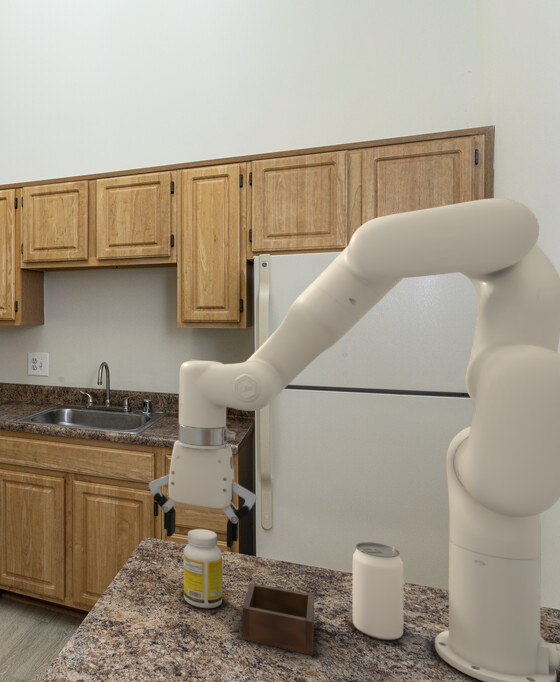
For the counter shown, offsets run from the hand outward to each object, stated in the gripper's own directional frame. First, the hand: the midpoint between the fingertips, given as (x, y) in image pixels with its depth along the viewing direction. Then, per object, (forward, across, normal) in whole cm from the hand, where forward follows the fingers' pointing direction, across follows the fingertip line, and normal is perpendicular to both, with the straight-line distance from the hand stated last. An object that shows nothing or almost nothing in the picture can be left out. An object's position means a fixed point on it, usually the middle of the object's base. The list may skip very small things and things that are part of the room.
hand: (199, 539), depth 92 cm
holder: (+10, -13, +5) cm, 17 cm away
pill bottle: (+10, -1, 0) cm, 10 cm away
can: (+10, -26, -2) cm, 27 cm away
